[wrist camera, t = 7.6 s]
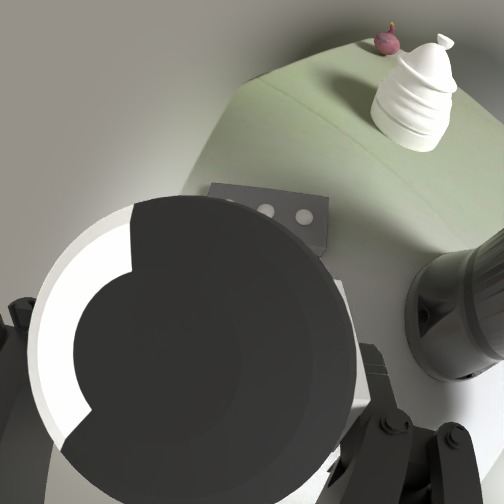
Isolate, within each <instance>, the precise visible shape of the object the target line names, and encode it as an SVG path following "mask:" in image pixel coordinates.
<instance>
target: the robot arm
mask: <svg viewBox="0 0 504 504" xmlns="http://www.w3.org/2000/svg"><path fill="white" fill-rule="evenodd" d="M333 280H334V281H335V282H336V286H337V288H338V290H339V292H340V293H341V295H342V297H343V299H344V302H345V305H346V308H347V311H348V314H349V317H350V320H351V323H352V327H353V332H354V338H355V344H356V351H357V379H356V386H355V393H354V399H353V404H352V407H351V410H350V413H349V416H348V420H347V423H346V426H345V428H344V430H343V432H342V434H341V436H340V438H339V440H338V442H337V444H336V445H335V447H334V449H333V450H332V452H334V451H335V449H336V448H337V447H338V446H339V444H340V452H341V455H340V456H339V458H338V459H337V460H336V461H335V462H334V463H333V464H332V466H331V467H330V468H329V469H328V471H327V472H329V473H330V472H331V473H330V475H329V477H328V479H327V481H326V483H325V485H324V488H323V490H322V492H321V494H320V496H319V497H318V499H317V501H316V503H315V504H483V499H482V491H481V484H480V478H479V472H478V467H477V462H476V457H475V452H474V448H473V444H472V440H471V437H470V434H469V432H468V431H467V430H466V429H465V427H464V426H462V425H460V424H458V423H455V422H448V423H444V424H443V425H442V426H440V427H439V429H438V430H437V431H432V430H428V429H424V428H420V427H416V426H414V425H413V423H412V421H411V419H410V417H409V416H408V415H407V414H406V413H405V412H404V411H402V410H400V409H398V408H397V406H396V402H395V398H394V395H393V391H392V388H391V384H390V381H389V377H388V376H387V371H386V367H385V364H384V361H383V358H382V355H381V353H380V352H379V351H378V350H377V348H376V347H375V346H374V345H371V344H363V343H358V341H357V337H356V333H355V329H354V325H353V321H352V317H351V314H350V310H349V306H348V303H347V299H346V296H345V292H344V289H343V285H342V282H341V280H335V279H333ZM36 300H37V299H35V298H32V297H24V298H20V299H17V300H15V301H13V302H12V303H11V304H10V305H9V306H8V308H9V312H10V315H11V318H12V321H13V324H14V327H13V326H8V325H4V322H3V319H2V317H1V314H0V504H44V499H45V498H44V497H45V490H46V482H47V475H48V469H49V463H50V458H51V452H52V447H53V443H54V441H53V439H52V438H51V436H50V435H49V433H48V431H47V429H46V427H45V425H44V423H43V421H42V419H41V416H40V414H39V412H38V409H37V406H36V403H35V400H34V396H33V393H32V388H31V383H30V378H29V371H28V356H27V350H28V334H29V327H30V322H31V317H32V312H33V309H34V306H35V303H36ZM405 328H406V335H407V339H408V343H409V346H410V349H411V351H412V354H413V356H414V357H415V359H416V361H417V362H418V364H419V365H420V366H421V368H422V369H423V370H424V371H425V372H426V373H427V374H429V375H430V376H432V377H433V378H435V379H437V380H440V381H445V382H460V381H466V380H469V379H472V378H474V377H476V376H478V375H479V374H481V373H482V372H484V371H486V370H488V369H489V368H491V367H492V366H494V365H496V364H497V363H499V362H500V361H502V360H504V228H503V229H502V230H501V231H499V232H498V233H497V234H495V235H494V236H493V237H491V238H490V239H489V240H487V241H486V242H485V243H484V244H482V245H481V246H479V247H478V248H476V249H470V250H464V251H458V252H452V253H447V254H444V255H441V256H439V257H437V258H436V259H434V260H433V261H432V262H430V263H429V264H428V265H426V266H425V267H424V268H423V269H422V270H421V271H420V272H419V273H418V274H417V276H416V277H415V279H414V281H413V283H412V285H411V287H410V290H409V293H408V296H407V301H406V307H405Z"/></svg>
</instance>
